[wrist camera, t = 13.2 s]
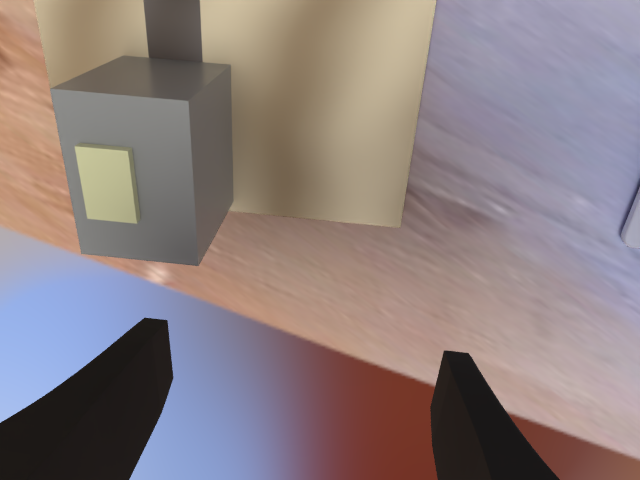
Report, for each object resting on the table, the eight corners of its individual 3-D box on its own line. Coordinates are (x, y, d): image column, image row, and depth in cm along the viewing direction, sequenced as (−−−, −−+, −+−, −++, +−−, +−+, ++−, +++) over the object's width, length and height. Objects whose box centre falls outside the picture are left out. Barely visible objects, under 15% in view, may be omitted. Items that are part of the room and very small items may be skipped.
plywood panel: (449, -102, 17) (452, -104, 16) (399, 219, 22) (400, 228, 22) (22, -132, 17) (8, -135, 17) (79, 187, 23) (70, 195, 22)
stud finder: (230, 64, 19) (185, 103, 14) (233, 201, 22) (195, 270, 17) (123, 55, 19) (44, 91, 15) (139, 192, 22) (76, 258, 17)
